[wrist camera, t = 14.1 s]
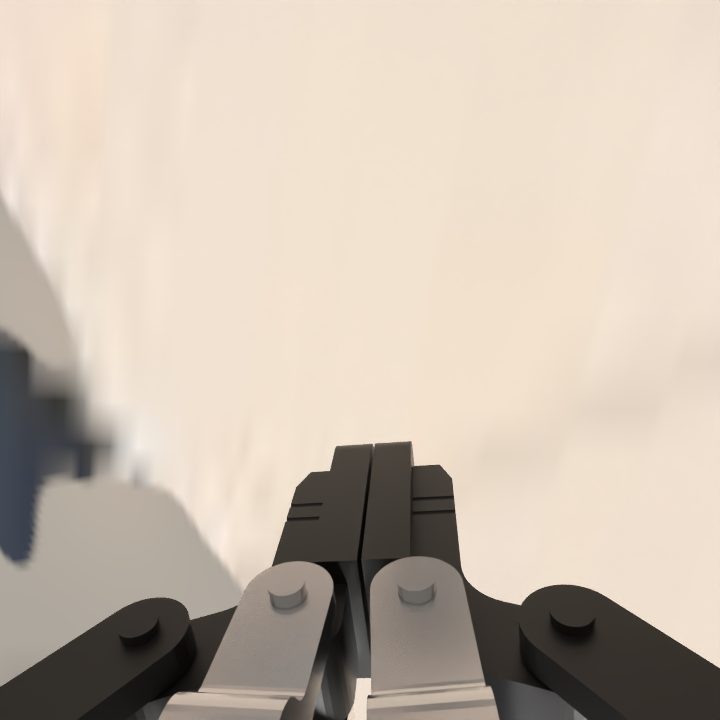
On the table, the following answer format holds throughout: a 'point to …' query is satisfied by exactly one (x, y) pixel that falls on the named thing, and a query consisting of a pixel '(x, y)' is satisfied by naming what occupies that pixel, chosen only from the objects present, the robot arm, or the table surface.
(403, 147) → the table surface
